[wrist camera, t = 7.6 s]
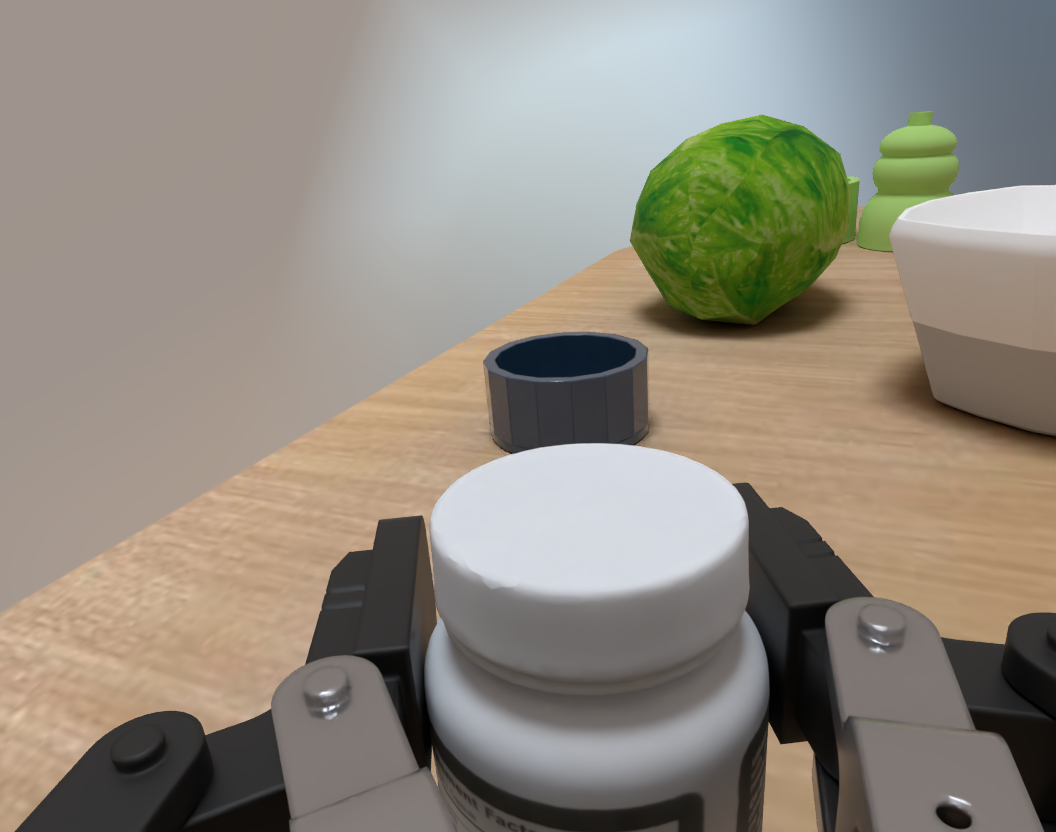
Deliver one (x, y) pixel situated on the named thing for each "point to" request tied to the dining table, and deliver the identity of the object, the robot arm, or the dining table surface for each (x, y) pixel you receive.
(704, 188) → the lettuce
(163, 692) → the dining table surface
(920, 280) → the bowl
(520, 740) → the pill bottle
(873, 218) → the food container
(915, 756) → the robot arm
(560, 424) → the bottle holder
